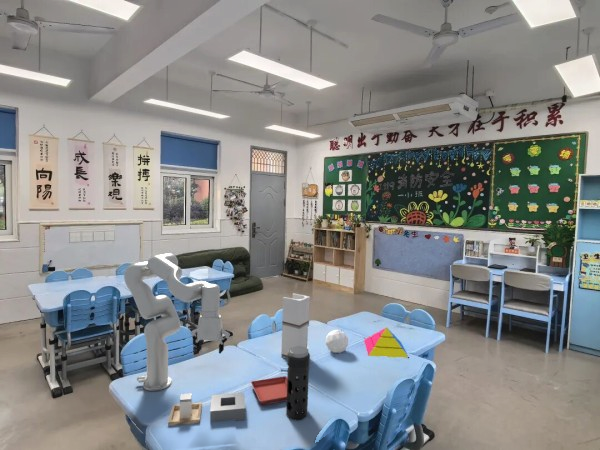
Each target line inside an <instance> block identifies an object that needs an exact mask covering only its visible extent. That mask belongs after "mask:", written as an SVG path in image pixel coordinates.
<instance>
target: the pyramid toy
mask: <svg viewBox="0 0 600 450" xmlns="http://www.w3.org/2000/svg"><path fill="white" fill-rule="evenodd" d="M363 341H364V345H365V349H366V352H367V356H369V357H380V356H387V357H386V358H396V357H408V356H409V355H407V354H408V353H407V351H406V349H405V347H404V345H403V343H402V341H401V340H400V339H399V338H398V337H397V336H396V335H395V334H394V333H393V332H392V331H391V330H390V329H389V328H388V327H384V328H383V329H380V330H379V331H377V332H375V333H374V334H372V335H371V336H368V337H366V338H365V339H363Z"/></svg>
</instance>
